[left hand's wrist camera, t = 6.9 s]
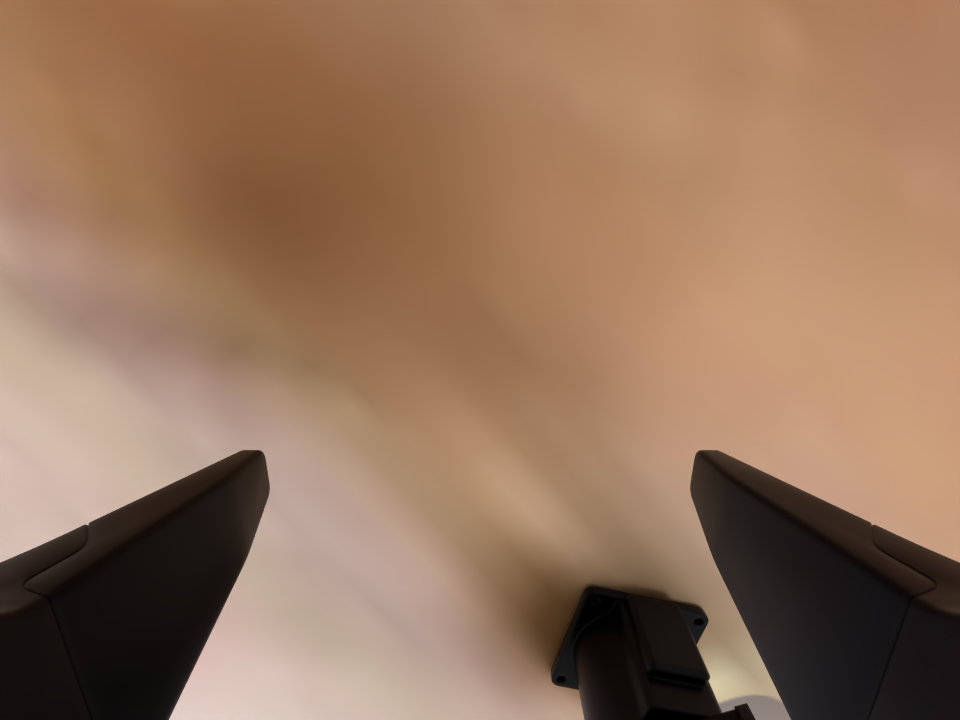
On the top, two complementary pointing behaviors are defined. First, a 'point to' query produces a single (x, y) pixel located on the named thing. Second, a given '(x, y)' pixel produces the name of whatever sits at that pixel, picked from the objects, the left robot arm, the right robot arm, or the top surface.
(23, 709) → the left robot arm
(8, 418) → the top surface
